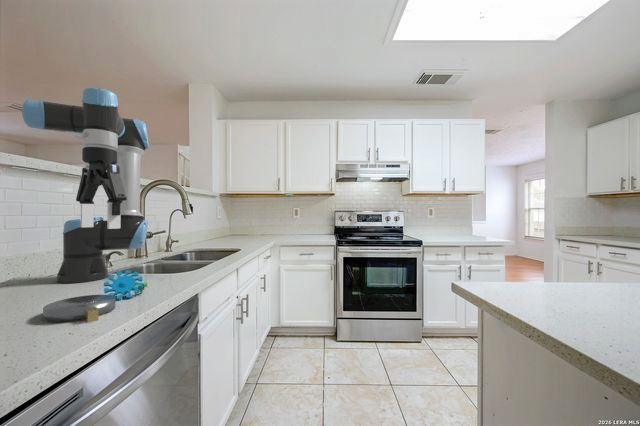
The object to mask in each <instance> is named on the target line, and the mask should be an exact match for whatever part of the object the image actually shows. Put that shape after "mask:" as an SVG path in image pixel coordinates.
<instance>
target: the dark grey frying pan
mask: <svg viewBox="0 0 640 426" xmlns="http://www.w3.org/2000/svg"><path fill="white" fill-rule="evenodd" d="M115 309H116V297H115V296H112V295H108V294H91V295H90V294H89V295H79V296H74V297H68V298H64V299H61V300H56V301H54V302H50V303H47V304H46V305H44V306H43V308H42V320H43V321H44V322H47V323H54V324H55V323H56V324H57V323H58V324H59V323H60V324H61V323H71V322H78V321H85V322H86V323H92V322H95V321H99V317H101V316H103V315H104V316H105V315H106V314H109V313H111V312H113V311H114V310H115Z"/></svg>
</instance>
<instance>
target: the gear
mask: <svg viewBox="0 0 640 426" xmlns="http://www.w3.org/2000/svg"><path fill="white" fill-rule="evenodd" d="M131 273H132V271H131V270H130V269H126V270H125V273H124V274H123V272H122V270H119V271H118V270H117V271H116V275H117V278H115V276H114V274H111V275H108V277H107V278H108V280H109V281H111V282H112V283H110V282H109V281H108V280H106V281H104V283H103V287H104V288H103V292H104V294H107V295H112V296H114V297H115V296H116V297H115V299H116V300H117V301H122V300H123V297H124V296H125V295H126V296H125V298H126V299H132V293H131V291H134V292H133V293H134V295H137V294H141V295H142V294H143V293H144V290H145V288H148V286H149V285H148V282H147V281H144V280H143V276H139V272H138V271H134V272H133V273H132V274H131ZM121 275H122V276H121ZM137 281H138V282H137ZM143 281H144V282H143ZM108 287H110V288H108Z"/></svg>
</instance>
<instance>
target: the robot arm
mask: <svg viewBox="0 0 640 426" xmlns="http://www.w3.org/2000/svg"><path fill="white" fill-rule="evenodd" d="M81 102H82V105H81V106H80V105H74V104H73V105H71V104H65V103H59V102H58V103H57V102H50V101H43V100H40V99H39V100H34V99H33V100H32V99H28V100H25V101H24V102H23V104H22V106H21V114H22V118H23V121H24V123H25V124H26V126H27V127H29V128H31V129H36V130H37V129H38V130H42V131H45V130H47V131H54V132H58V133H59V132H60V133H64V134H67V135H68V134H69V135H72V136H74V137H76V139H79V140H81V141H82V145H83V146H84V147H83V148H81V152H82V153H81V155H82V156H81V157H82V159H81V160H82V162H84V163H86V164H89V166H88V167H82V169H81V177H80V182H79V186H78V190H77V194H76V198H75V200H76V202H78V203H79V204H80V218H77V219H76V218H75V219H68V220H66V221H65V222H64V224H63V232H62V235H63V237H62V240H63V242H62V243H63V247H62V250H63V253H62V254H63V257H62V263H61V264H60V268H59V269H58V272H57V274H56V283H61V284H74V283H75V284H77V283H84V282H91V281H92V282H93V281H97V280H99V281H100V280H103V279H105V278H108V277H109V270H108V268H107V265H106V262H105V259H104V256H103V253H104V252H103V251H115V250H116V251H117V250H118V251H119V250H121V251H122V250H136V249H142V248H143V247H144V246H145V243H146V239H147V235H148V226H149V221H148V220H146V219H145V215H143V214H142V213H141V209H140V208H141V205H140V204H141V165H142V163H141V160H142V159H141V157H142V156H143V155H145V154H146V150H149V149H150V144H149V143H150V142H149V136H148V130H147V125H146V123H145V122H144V121H142V120H141V119H140V120H139V119H134V118H124V117H121V116H120V113H119V112H118V111H119V110H118V109H119V102H118V96H117V95H116V93H114V92H112V91H110V90H107V89H104V88H100V87H87V88H85V89H84V90H82V99H81ZM100 186H102V188H103V190H104V192H105V195H106V196H107V197H106V198H108V199H107V201H106V203H107V209H106V210H107V216H106V218H107V220H104V218H103V217H102V216H97V217H96V216H95V217H94V204H95V202H94V199H95V195H96V193H97V192H98V189H99V187H100Z"/></svg>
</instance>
